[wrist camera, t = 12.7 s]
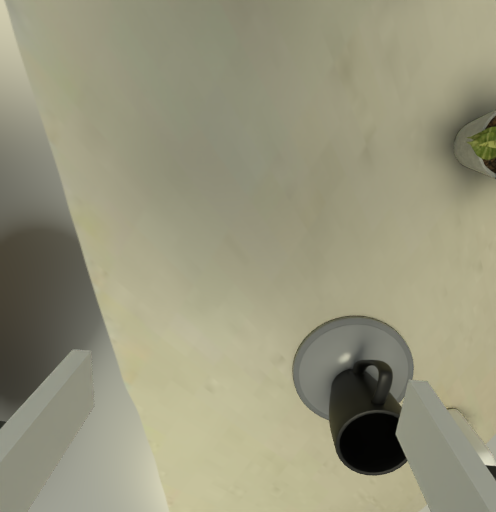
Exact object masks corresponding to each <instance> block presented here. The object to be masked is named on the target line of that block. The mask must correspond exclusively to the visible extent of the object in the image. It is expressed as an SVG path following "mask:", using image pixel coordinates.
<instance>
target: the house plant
mask: <svg viewBox="0 0 496 512" xmlns="http://www.w3.org/2000/svg"><path fill="white" fill-rule="evenodd" d="M454 153H455V156H456V158H457V160H458V161H459V162H460V163H461V164H462V165H464V166H465V167H468V168H470V169H473V170H475V171H478V172H480V173H483V174H485V175H488V176H490V177H493V178H495V179H496V110H494V111H492V112H490V113H488V114H486V115H484V116H482V117H480V118H478V119H476V120H474V121H472V122H470V123H468V124H467V125H465V126H464V127H463V128H461V129H460V131H459V132H458V134H457V136H456V139H455V141H454Z"/></svg>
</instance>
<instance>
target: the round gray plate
mask: <svg viewBox="0 0 496 512" xmlns="http://www.w3.org/2000/svg"><path fill="white" fill-rule="evenodd" d="M359 360H380V361H384V362H385V363H387V364H388V365H389V366H390V367H391V369H392V372H393V381H392V385H391V389H390V393H391V394H392V395H393V397H394V398H395V399H396V400H397V402H398V403H399V402H400V401H401V400H402V399H403V398H404V396H405V393H406V388H407V384H408V380H412V378H413V370H414V366H413V359H412V355H411V352H410V350H409V347H408V346H407V344H406V342H405V341H404V340H403V338H402V337H401V336H400V335H399V334H398V333H397V332H396V331H395V330H394V329H393V328H392V327H390V326H389V325H387V324H385V323H383V322H381V321H379V320H376V319H373V318H369V317H364V316H347V317H341V318H337V319H334V320H331V321H329V322H326V323H324V324H322V325H321V326H319V327H317V328H316V329H315V330H313V331H312V332H311V333H310V334H309V335H308V336H307V337H306V338H305V339H304V341H303V342H302V343H301V345H300V347H299V348H298V350H297V353H296V355H295V359H294V363H293V379H294V384H295V388H296V390H297V393H298V395H299V397H300V399H301V400H302V401H303V403H304V404H305V405H306V406H307V407H308V408H309V409H310V410H311V411H313V412H314V413H315V414H317V415H319V416H320V417H323V418H325V419H327V420H329V402H330V394H331V385H332V382H333V380H334V379H335V377H336V376H337V375H338V374H339V373H341V372H343V371H345V370H348V369H353V366H354V364H355V363H356V362H357V361H359ZM366 372H368V373H369V374H370V375H371V376H372V377H373V378H375V379H376V380H377V381H378V377H379V372H378V369H377V368H376V367H375V366H372V365H371V366H368V367H367V368H366Z"/></svg>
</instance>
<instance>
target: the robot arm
mask: <svg viewBox="0 0 496 512" xmlns="http://www.w3.org/2000/svg"><path fill="white" fill-rule="evenodd" d="M93 408H94V391H93V373H92V354H91V351H86V350H75V349H73V350H72V351H71V352H70V353H69V354H68V355H67V356H66V358H65V359H64V360H63V361H62V362H61V363H60V364H59V365H58V366H57V368H56V369H55V370H54V371H53V372H52V373H51V374H50V375H49V376H48V377H47V378H46V380H45V381H44V382H43V383H42V384H41V385H40V386H39V387H38V388H37V389H36V391H35V392H34V393H33V394H32V395H31V396H30V397H29V398H28V399H27V400H26V402H25V403H24V404H23V405H22V406H21V407H20V408H19V409H18V410H17V411H16V412H15V414H14V415H13V416H12V417H11V418H10V419H9V420H8V421H7V422H3V421H0V512H28V510H29V508H30V507H31V505H32V504H33V502H34V500H35V499H36V497H37V496H38V494H39V492H40V491H41V489H42V488H43V486H44V485H45V483H46V482H47V480H48V478H49V477H50V475H51V474H52V472H53V471H54V469H55V467H56V466H57V464H58V463H59V461H60V460H61V458H62V456H63V455H64V453H65V452H66V450H67V448H68V447H69V445H70V444H71V442H72V441H73V439H74V437H75V436H76V434H77V433H78V431H79V429H80V428H81V426H82V425H83V423H84V422H85V420H86V419H87V417H88V415H89V414H90V412H91V410H92V409H93ZM395 434H396V436H397V438H398V441H399V443H400V445H401V447H402V449H403V452H404V454H405V456H406V458H407V460H408V463H409V465H410V467H411V469H412V471H413V474H414V476H415V478H416V480H417V482H418V485H419V487H420V489H421V491H422V493H423V496H424V498H425V500H426V502H427V504H428V507H429V509H430V511H431V512H496V466H490V465H485V464H484V463H483V461H482V460H481V458H480V457H479V455H478V454H477V452H476V451H475V450H474V448H473V447H472V445H471V444H470V442H469V441H468V439H467V438H466V436H465V435H464V434H463V432H462V431H461V429H460V428H459V426H458V425H457V423H456V422H455V421H454V419H453V418H452V416H451V415H450V413H449V412H448V410H447V409H446V407H445V406H444V405H443V403H442V402H441V400H440V399H439V397H438V396H437V394H436V393H435V392H434V390H433V389H432V387H431V386H430V384H429V383H428V381H419V380H408V384H407V388H406V393H405V397H404V401H403V405H402V409H401V413H400V417H399V421H398V425H397V429H396V433H395Z"/></svg>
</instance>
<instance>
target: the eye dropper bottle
mask: <svg viewBox="0 0 496 512" xmlns="http://www.w3.org/2000/svg"><path fill="white" fill-rule="evenodd" d="M447 410H448V412H449V413H450V415H451V416H452V418H453V419H454V421H455V422H456V423H457V425H458V426H459V428H460V429H461V431H462V432H463V434H464V435H465V436H466V438H467V439H468V441H469V442H470V444H471V445H472V447H473V448H474V450H475V451H476V452H477V454H478V455H479V457H480V458H481V460H482V461H483V463H484V464H485V465H490V466H495V465H496V460H495V458H494V456H493V455H492V453H491V451H490V450H489V449H488V447H487V446H486V445H485V443H484V442H483V441H482V439H481V438H480V437H479V435H478V434H477V433H476V432H475V430H474V429H473V428H472V426H471V425H470V424H469V423H468V421H467V420H466V419H465V418H464V416H463V415H462V414H461V412H460V411H458V410H457V409H447Z"/></svg>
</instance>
